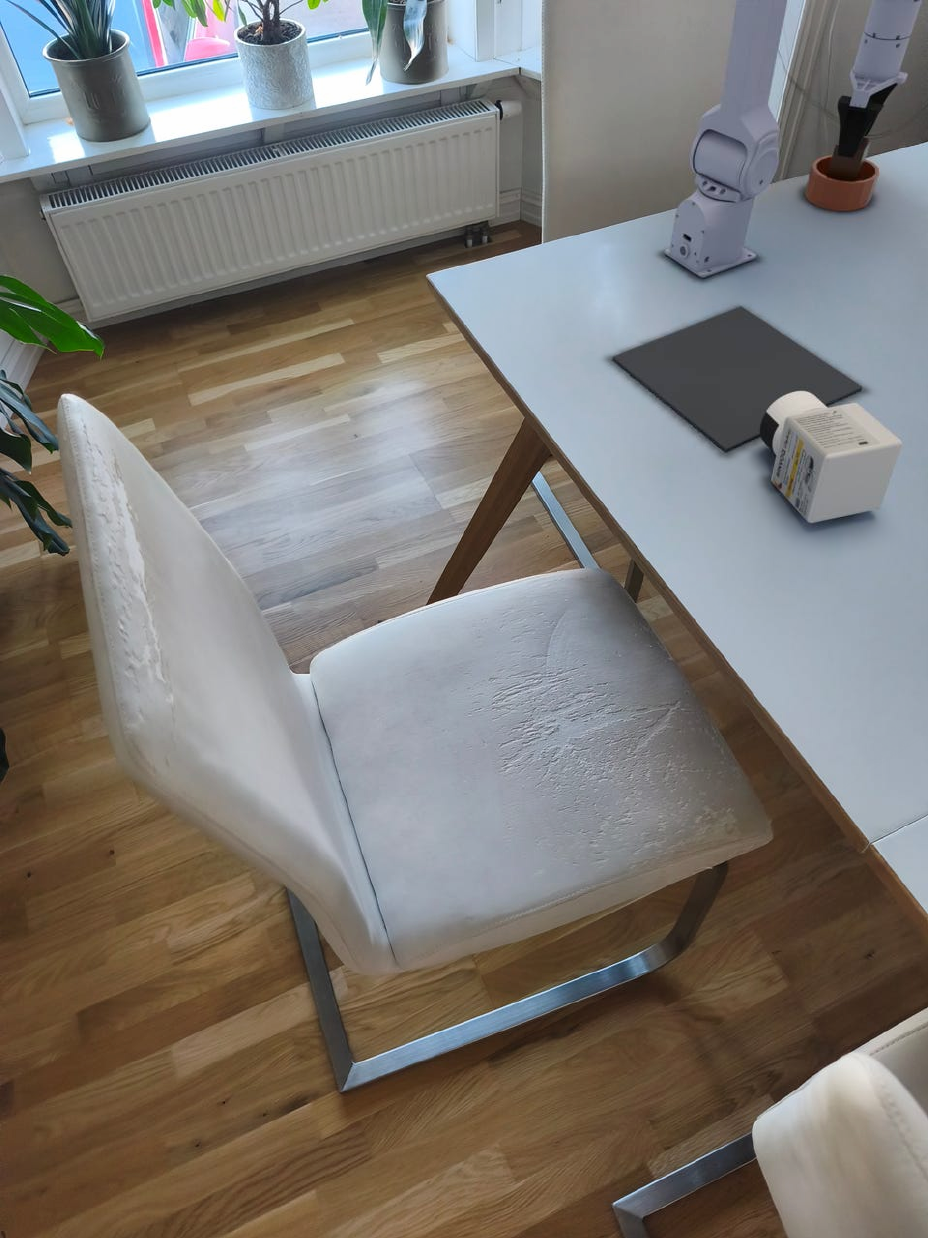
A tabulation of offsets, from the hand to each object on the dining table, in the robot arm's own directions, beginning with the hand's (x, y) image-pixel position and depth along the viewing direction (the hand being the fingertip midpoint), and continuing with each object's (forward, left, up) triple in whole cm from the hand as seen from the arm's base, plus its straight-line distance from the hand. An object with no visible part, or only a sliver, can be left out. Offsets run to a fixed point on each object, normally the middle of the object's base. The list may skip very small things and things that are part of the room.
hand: (852, 144), depth 119 cm
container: (-50, -49, -2) cm, 70 cm away
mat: (-42, -25, -7) cm, 49 cm away
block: (0, 0, -6) cm, 6 cm away
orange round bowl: (0, 0, -7) cm, 7 cm away
